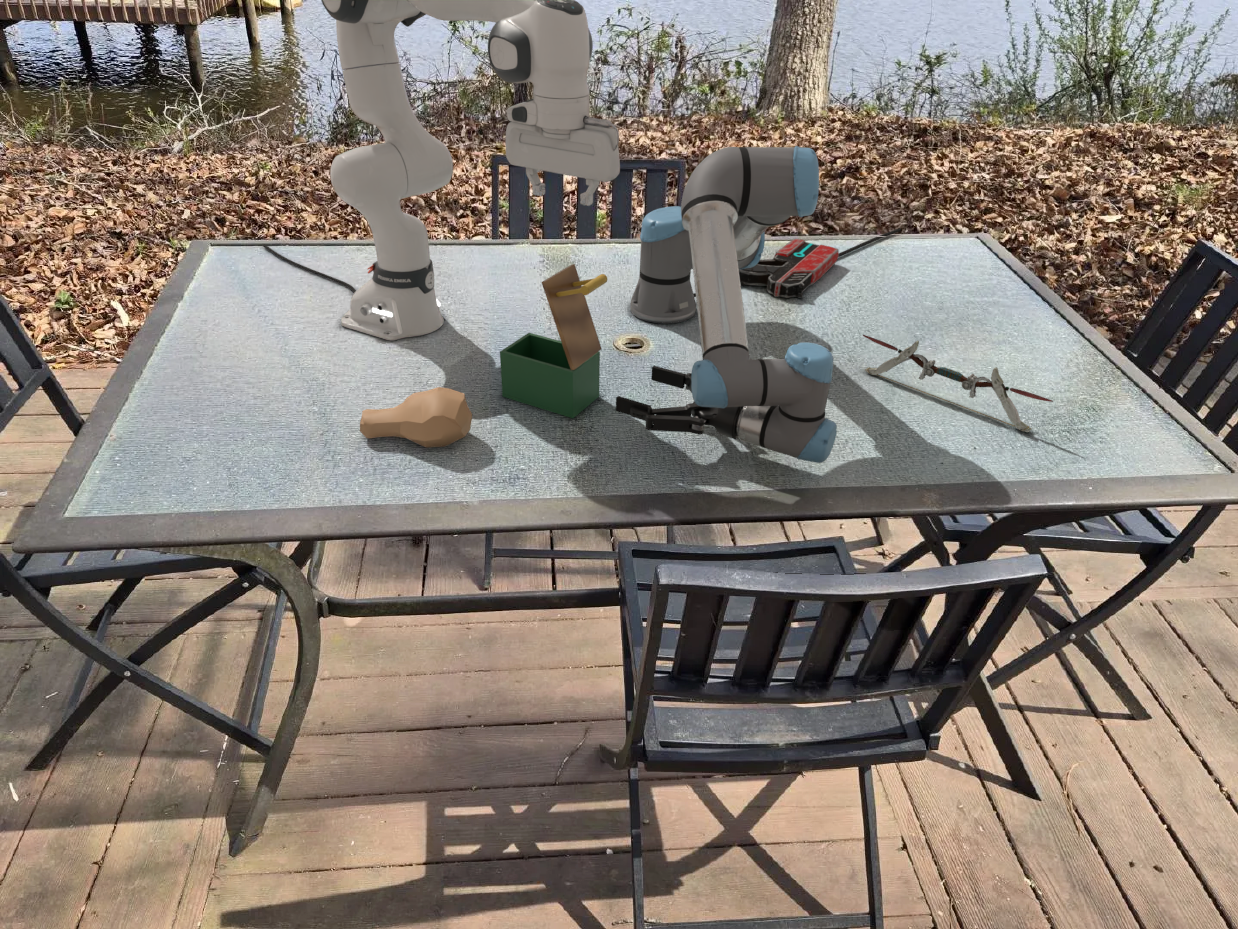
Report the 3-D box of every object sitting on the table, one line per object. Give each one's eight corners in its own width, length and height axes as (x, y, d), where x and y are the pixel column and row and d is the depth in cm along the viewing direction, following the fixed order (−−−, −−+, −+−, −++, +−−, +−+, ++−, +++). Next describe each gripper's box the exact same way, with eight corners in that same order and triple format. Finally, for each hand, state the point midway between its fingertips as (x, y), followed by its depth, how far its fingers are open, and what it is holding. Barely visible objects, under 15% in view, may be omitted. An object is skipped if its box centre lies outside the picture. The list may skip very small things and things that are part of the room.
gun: (726, 267, 216) (800, 286, 208) (775, 231, 238) (843, 246, 230) (724, 284, 219) (797, 304, 211) (772, 247, 241) (840, 263, 233)
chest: (502, 396, 169) (499, 351, 164) (530, 376, 176) (528, 332, 171) (573, 418, 163) (572, 372, 158) (599, 396, 170) (599, 351, 165)
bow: (1043, 434, 162) (1060, 387, 156) (1039, 438, 161) (1056, 390, 155) (858, 366, 183) (867, 322, 178) (854, 369, 182) (862, 324, 177)
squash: (473, 454, 152) (461, 415, 146) (361, 463, 154) (345, 424, 148) (480, 414, 160) (469, 375, 154) (374, 422, 162) (359, 384, 155)
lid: (541, 282, 151) (577, 275, 147) (570, 264, 159) (606, 257, 154) (570, 370, 158) (606, 366, 153) (598, 349, 165) (633, 345, 160)
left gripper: (628, 117, 138) (625, 205, 145) (520, 101, 146) (523, 185, 153) (608, 125, 133) (607, 215, 141) (498, 107, 141) (502, 194, 149)
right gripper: (712, 472, 143) (600, 436, 152) (768, 407, 161) (665, 378, 170) (716, 433, 139) (600, 398, 147) (773, 370, 157) (667, 343, 166)
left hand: (562, 199), depth 147 cm, fingers open, 8 cm apart
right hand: (635, 387), depth 159 cm, fingers open, 13 cm apart
